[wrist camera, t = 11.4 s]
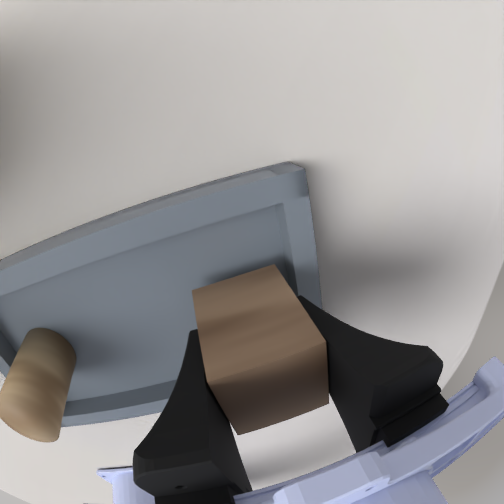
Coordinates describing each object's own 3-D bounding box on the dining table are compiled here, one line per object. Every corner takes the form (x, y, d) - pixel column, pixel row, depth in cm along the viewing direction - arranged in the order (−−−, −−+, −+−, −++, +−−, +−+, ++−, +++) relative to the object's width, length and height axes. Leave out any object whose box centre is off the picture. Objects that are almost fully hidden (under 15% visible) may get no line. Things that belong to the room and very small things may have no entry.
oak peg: (87, 366, 15) (72, 441, 10) (46, 375, 15) (27, 442, 10) (55, 321, 14) (25, 396, 9) (14, 334, 13) (-17, 401, 8)
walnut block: (286, 325, 16) (329, 403, 11) (215, 349, 16) (238, 435, 11) (274, 263, 14) (325, 341, 9) (191, 290, 14) (207, 382, 9)
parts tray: (313, 341, 20) (325, 360, 18) (58, 407, 17) (54, 427, 15) (288, 161, 14) (304, 168, 12) (-37, 278, 11) (-52, 295, 10)
